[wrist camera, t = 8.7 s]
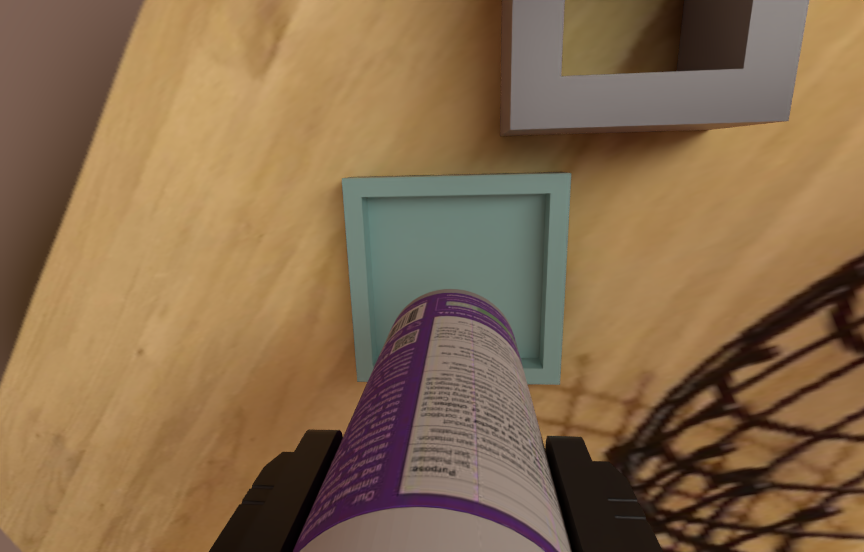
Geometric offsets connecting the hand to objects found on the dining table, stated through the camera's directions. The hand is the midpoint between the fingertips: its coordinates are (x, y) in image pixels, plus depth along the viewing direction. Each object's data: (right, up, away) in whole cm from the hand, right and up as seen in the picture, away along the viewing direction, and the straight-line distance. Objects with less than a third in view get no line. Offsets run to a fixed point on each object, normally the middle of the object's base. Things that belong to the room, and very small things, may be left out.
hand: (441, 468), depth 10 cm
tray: (+1, +4, +17) cm, 17 cm away
